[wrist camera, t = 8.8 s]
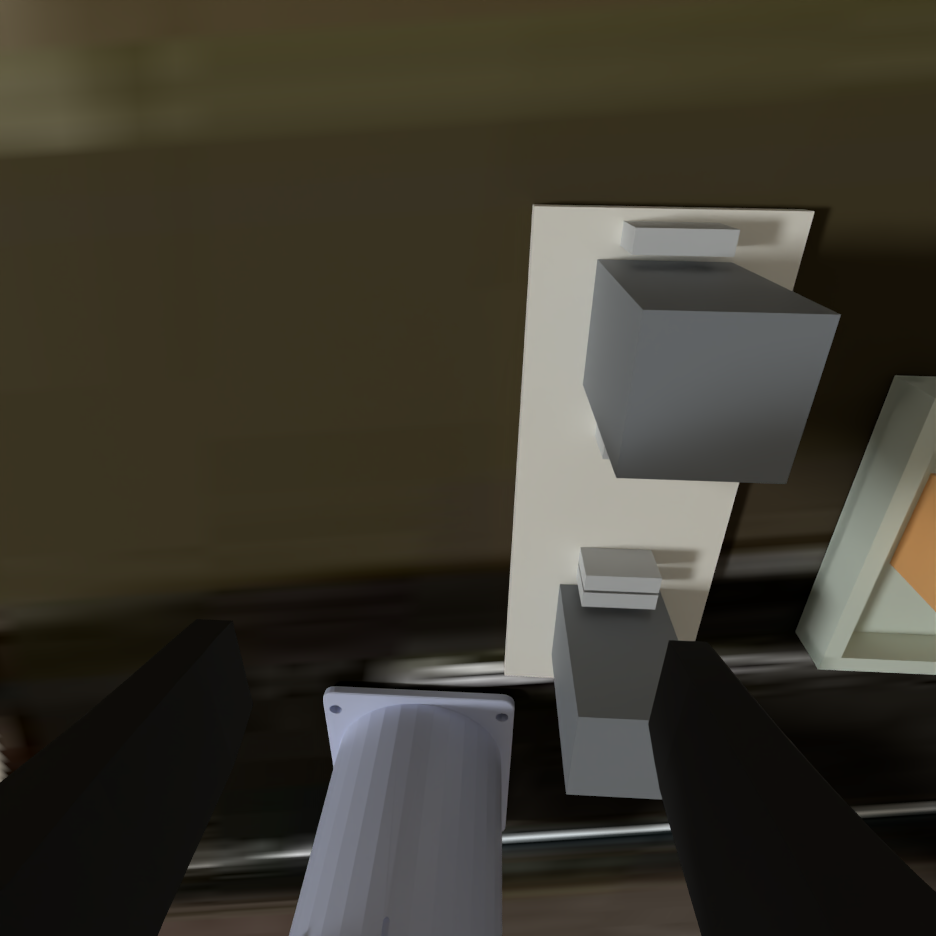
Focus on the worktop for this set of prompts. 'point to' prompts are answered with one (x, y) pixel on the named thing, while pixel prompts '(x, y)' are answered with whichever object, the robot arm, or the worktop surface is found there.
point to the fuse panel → (576, 461)
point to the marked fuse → (920, 546)
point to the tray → (878, 550)
